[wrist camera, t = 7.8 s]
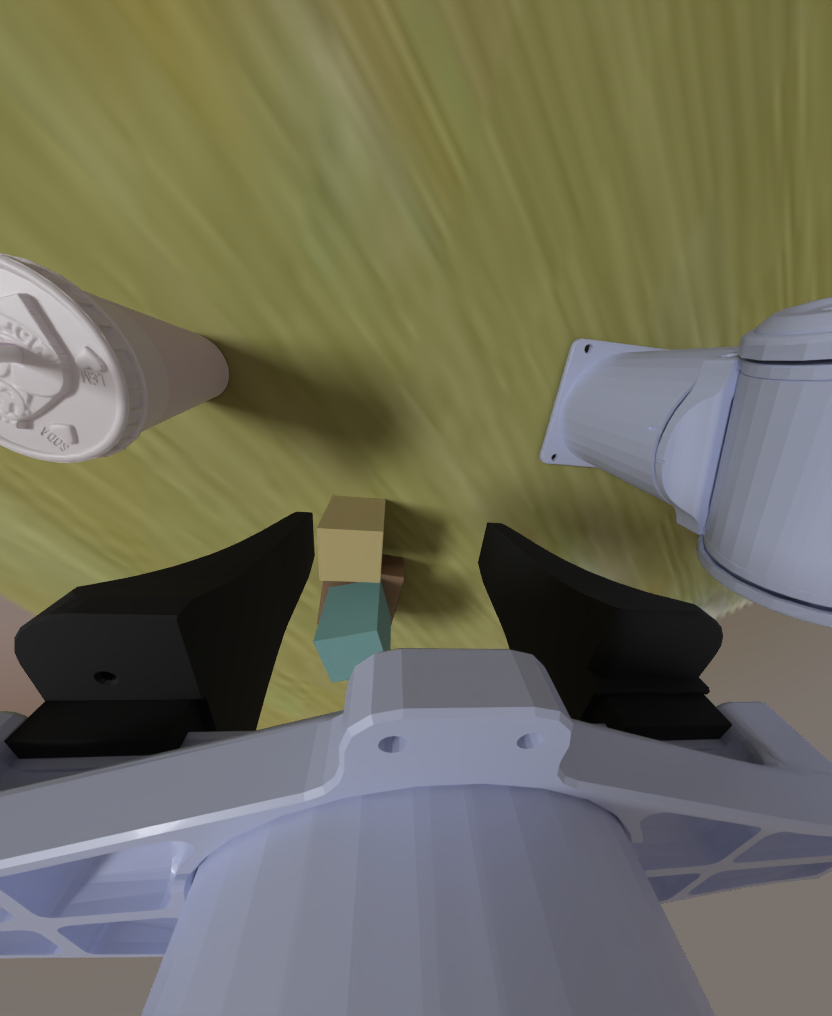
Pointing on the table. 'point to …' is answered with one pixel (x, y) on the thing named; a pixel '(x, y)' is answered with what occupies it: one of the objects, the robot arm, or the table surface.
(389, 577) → the walnut slab
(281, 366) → the table surface
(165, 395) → the smoothie
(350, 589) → the teal block
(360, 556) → the mustard block
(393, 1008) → the robot arm
